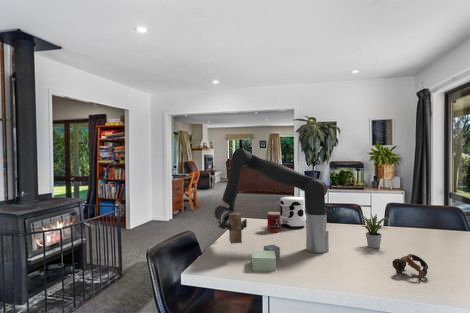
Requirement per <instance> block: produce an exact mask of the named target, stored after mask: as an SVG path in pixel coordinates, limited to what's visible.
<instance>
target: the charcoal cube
mask: <svg viewBox="0 0 470 313" xmlns="http://www.w3.org/2000/svg"><path fill="white" fill-rule="evenodd" d="M263 251H275V257H276V261H277V260H281V247H279V246H277V245H276V244H269V245H263Z"/></svg>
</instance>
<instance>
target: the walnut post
mask: <svg viewBox="0 0 470 313" xmlns="http://www.w3.org/2000/svg"><path fill="white" fill-rule="evenodd" d="M241 221H242V214H241V212H234V213H229V224H230V225H231V231H229V230H228V232H229V233H228V236H229V243H230V244H231V245H232V244H242V243H243V236H242V234H243V233H242V231H243V230H241Z"/></svg>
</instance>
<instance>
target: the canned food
mask: <svg viewBox="0 0 470 313" xmlns="http://www.w3.org/2000/svg"><path fill="white" fill-rule="evenodd" d="M266 214H267V217H266V218H267V232H269V233H270V234H271V233H272V234H277V233H280V232H281V224H280V211H279V212H278V211H268V212H267V213H266Z"/></svg>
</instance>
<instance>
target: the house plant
mask: <svg viewBox="0 0 470 313" xmlns="http://www.w3.org/2000/svg"><path fill="white" fill-rule="evenodd" d="M370 215H371V218H370V219H367V217H366V216H364V215H361V216H362V217H363V218H362V217H361V219H362V220H363V221H364V222H365V224H366V225H361V226H360V227H363V228H364V229H366V230H367V231H366V232H365V237H366V244H367V247H369V248H371V249H379V248H380V247H381V242H382V233H380V232H378V231H380V230H382V227H383V226H384V225H385V224H382V223H383V222H384V220H386V219H388V216H387V217H386V216H385V217H382V218H381V219H380V220H379V221H377V220H378V216H377V214H375V215H374V216H373V214H372V213H370ZM384 229H385V230H387V227H384Z"/></svg>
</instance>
